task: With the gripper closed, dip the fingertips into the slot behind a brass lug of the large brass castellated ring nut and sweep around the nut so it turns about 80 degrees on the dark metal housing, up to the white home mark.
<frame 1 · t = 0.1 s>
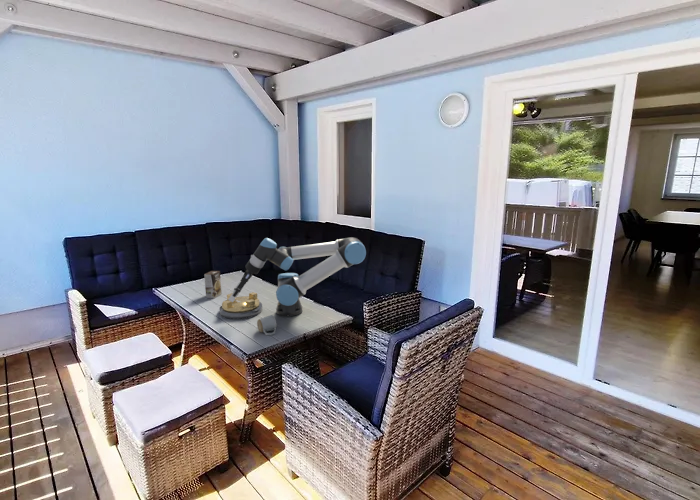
hand: (232, 296, 195), 15 cm above the table, tool tilted 35°, fingers open, 13 cm apart
ring nut: (240, 301, 214), point 6 cm above the table, hinge at 0.0°
ceramic mug: (268, 332, 188), on the table
coffee box: (214, 296, 241), on the table
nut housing: (241, 311, 215), on the table
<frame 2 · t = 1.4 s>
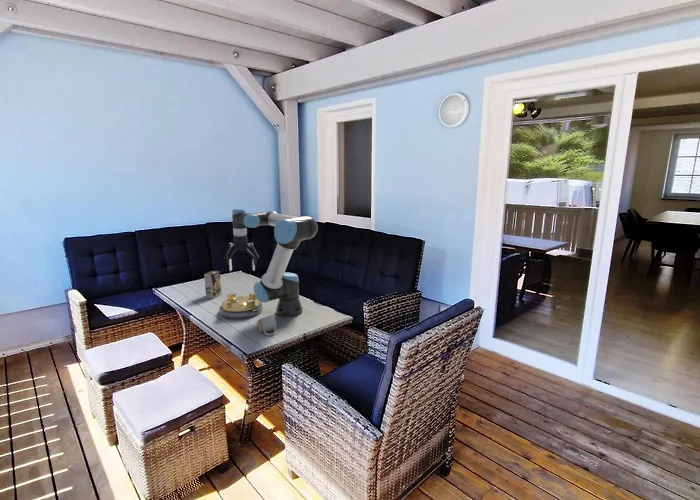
hand: (242, 270, 218), 23 cm above the table, tool pointing down, fingers open, 13 cm apart
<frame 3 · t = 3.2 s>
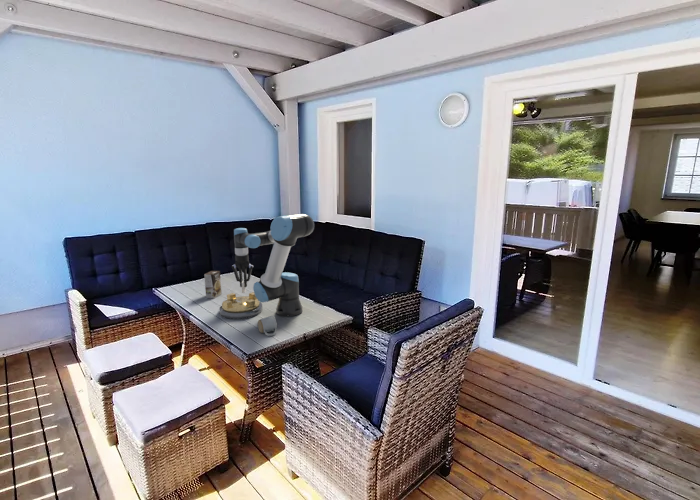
hand: (243, 292, 222), 9 cm above the table, tool pointing down, fingers closed
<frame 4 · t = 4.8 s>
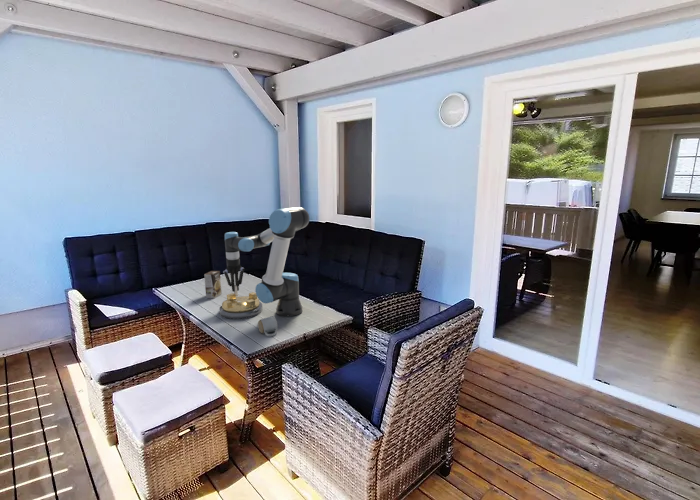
hand: (235, 296, 221), 7 cm above the table, tool pointing down, fingers closed
ring nut: (240, 301, 214), point 6 cm above the table, hinge at 0.6°, touching gripper
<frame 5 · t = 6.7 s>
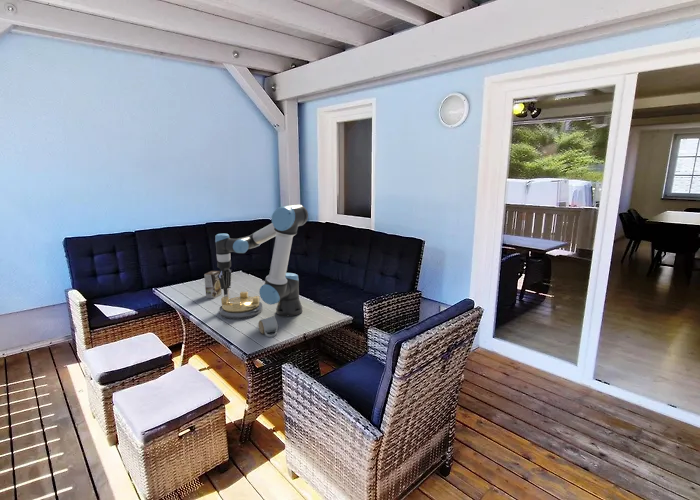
hand: (226, 299, 216), 7 cm above the table, tool pointing down, fingers closed
ring nut: (240, 301, 214), point 6 cm above the table, hinge at 40.8°, touching gripper
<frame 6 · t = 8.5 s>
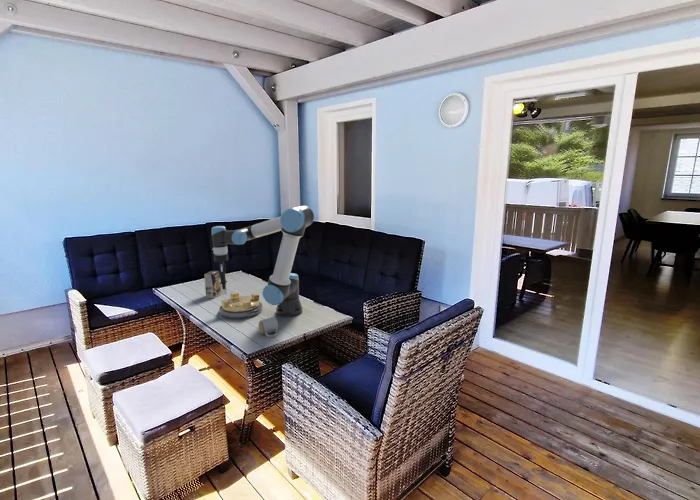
hand: (224, 294, 210), 12 cm above the table, tool pointing down, fingers closed
ring nut: (240, 301, 214), point 6 cm above the table, hinge at 75.5°
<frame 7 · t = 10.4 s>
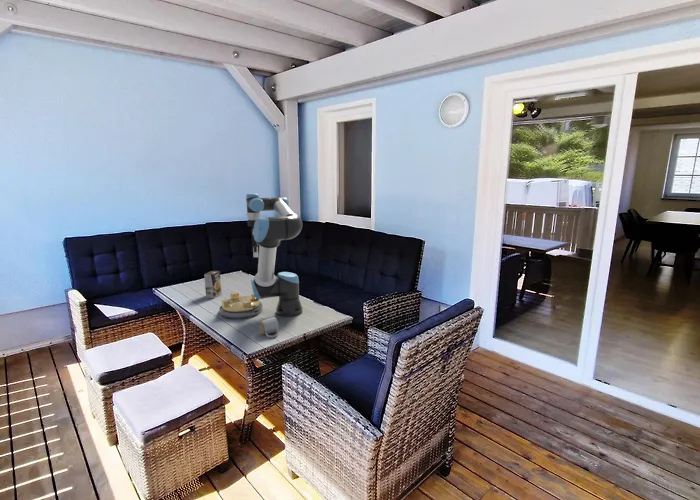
hand: (255, 257, 227), 28 cm above the table, tool pointing down, fingers closed
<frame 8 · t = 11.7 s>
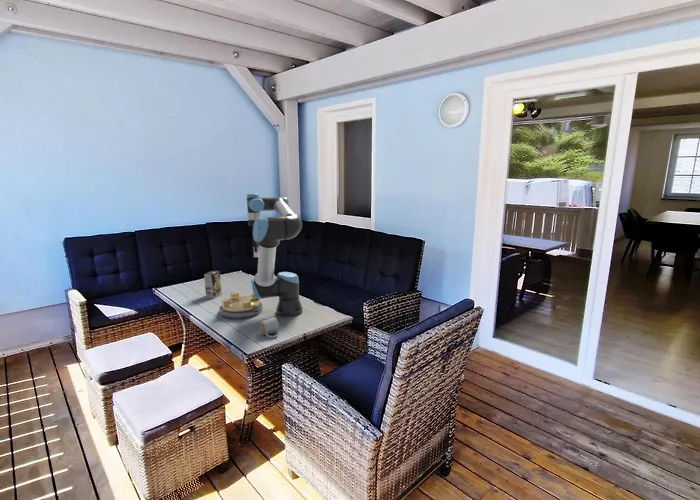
hand: (256, 256, 227), 28 cm above the table, tool pointing down, fingers closed
at the end: ring nut at +76° (first picture: +0°); coffee box moved 0.2 cm from its start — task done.
